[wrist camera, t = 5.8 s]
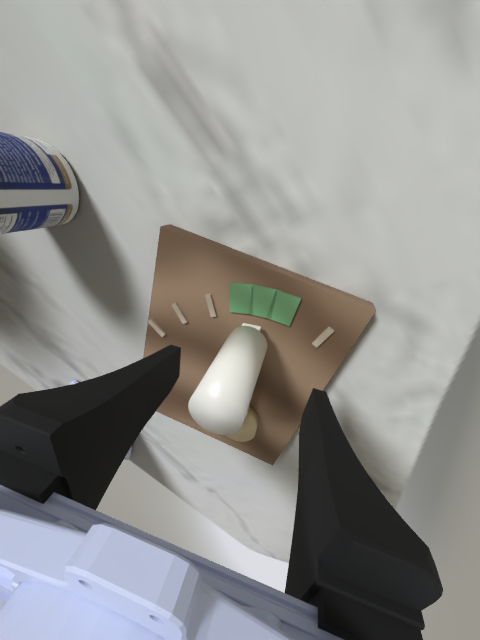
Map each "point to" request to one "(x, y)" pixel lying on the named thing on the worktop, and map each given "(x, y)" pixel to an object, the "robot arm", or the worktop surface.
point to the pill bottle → (34, 185)
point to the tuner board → (256, 309)
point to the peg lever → (231, 386)
